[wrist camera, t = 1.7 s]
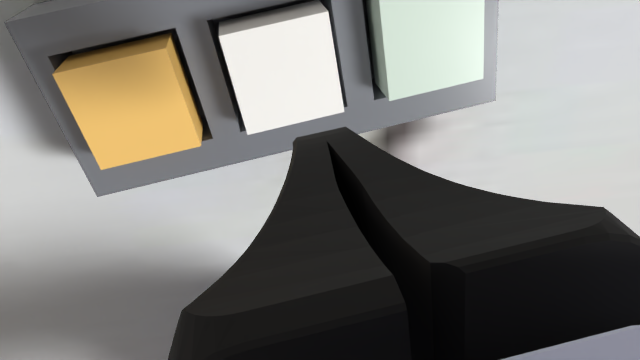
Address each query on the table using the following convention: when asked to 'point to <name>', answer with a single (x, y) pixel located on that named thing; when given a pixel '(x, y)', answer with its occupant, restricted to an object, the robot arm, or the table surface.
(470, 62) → the sage key
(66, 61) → the amber key
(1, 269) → the table surface
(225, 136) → the keypad
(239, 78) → the middle key
